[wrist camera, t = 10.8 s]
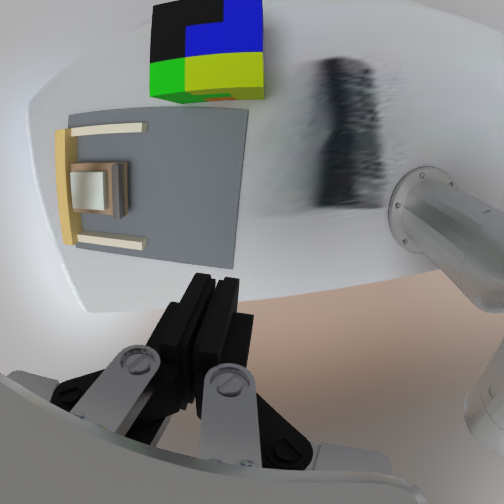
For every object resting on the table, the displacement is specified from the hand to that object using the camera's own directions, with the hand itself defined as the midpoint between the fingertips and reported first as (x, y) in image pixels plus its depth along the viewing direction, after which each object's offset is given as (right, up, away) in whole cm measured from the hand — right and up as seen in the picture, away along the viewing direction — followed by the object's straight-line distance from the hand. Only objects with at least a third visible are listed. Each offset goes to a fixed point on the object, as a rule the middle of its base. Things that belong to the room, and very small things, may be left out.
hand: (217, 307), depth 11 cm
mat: (-13, +11, +23) cm, 29 cm away
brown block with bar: (-19, +11, +23) cm, 32 cm away
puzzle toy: (-2, +25, +16) cm, 30 cm away
